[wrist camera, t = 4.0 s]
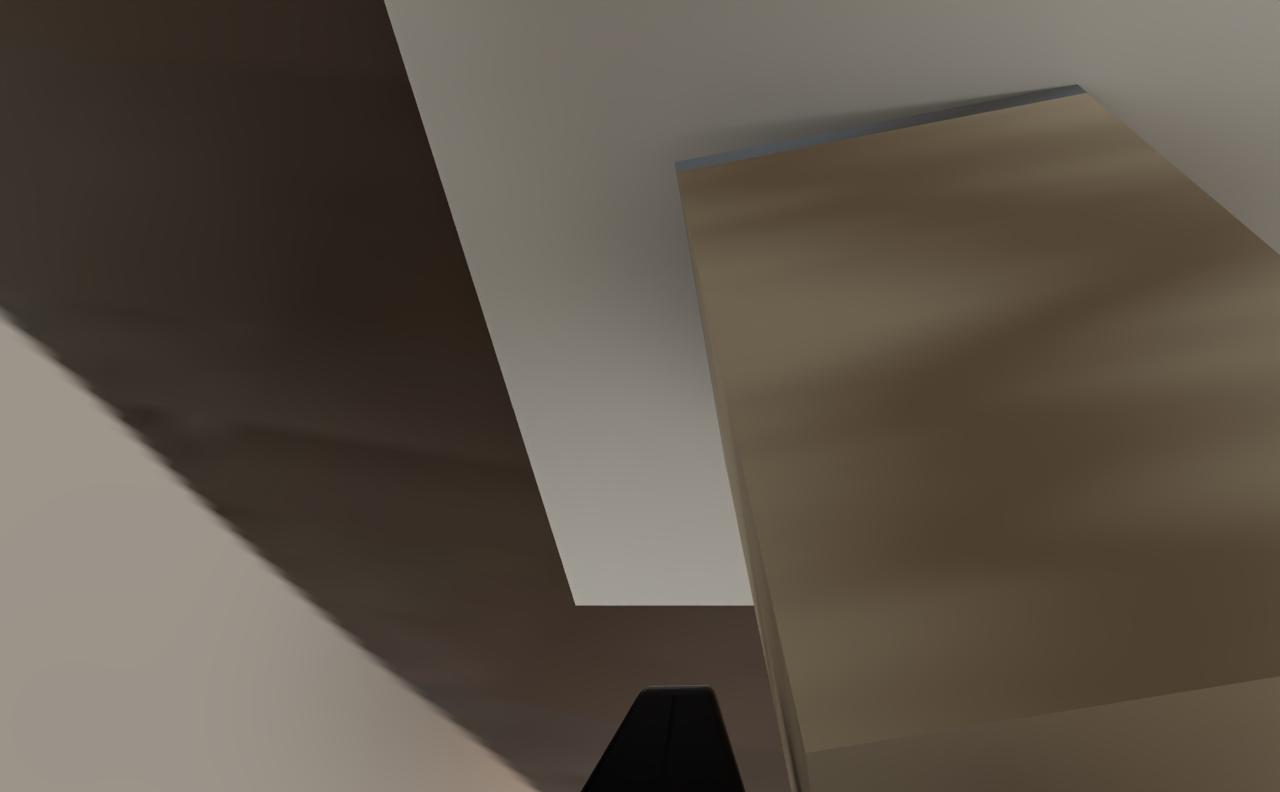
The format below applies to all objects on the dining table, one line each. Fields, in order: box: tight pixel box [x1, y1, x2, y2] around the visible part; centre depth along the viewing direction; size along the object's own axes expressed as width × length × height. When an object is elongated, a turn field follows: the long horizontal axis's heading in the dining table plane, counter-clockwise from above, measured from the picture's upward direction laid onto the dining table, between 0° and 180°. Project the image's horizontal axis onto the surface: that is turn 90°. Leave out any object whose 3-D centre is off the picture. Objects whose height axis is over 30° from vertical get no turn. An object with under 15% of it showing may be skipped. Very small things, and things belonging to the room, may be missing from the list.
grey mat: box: [384, 0, 1280, 605], centre depth 14 cm, size 20×14×1 cm
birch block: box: [674, 84, 1280, 792], centre depth 11 cm, size 5×5×8 cm
